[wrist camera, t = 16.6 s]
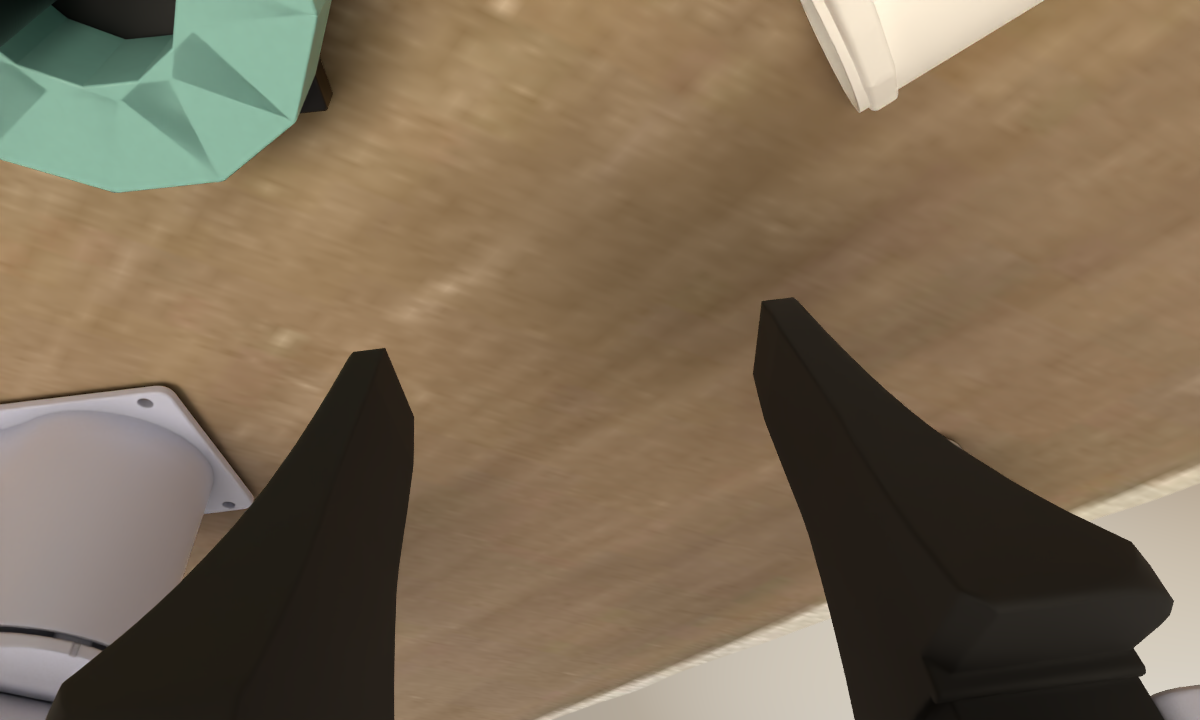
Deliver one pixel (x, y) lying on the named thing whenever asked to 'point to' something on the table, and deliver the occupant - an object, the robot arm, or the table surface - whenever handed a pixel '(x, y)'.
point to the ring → (158, 93)
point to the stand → (129, 27)
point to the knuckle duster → (899, 39)
